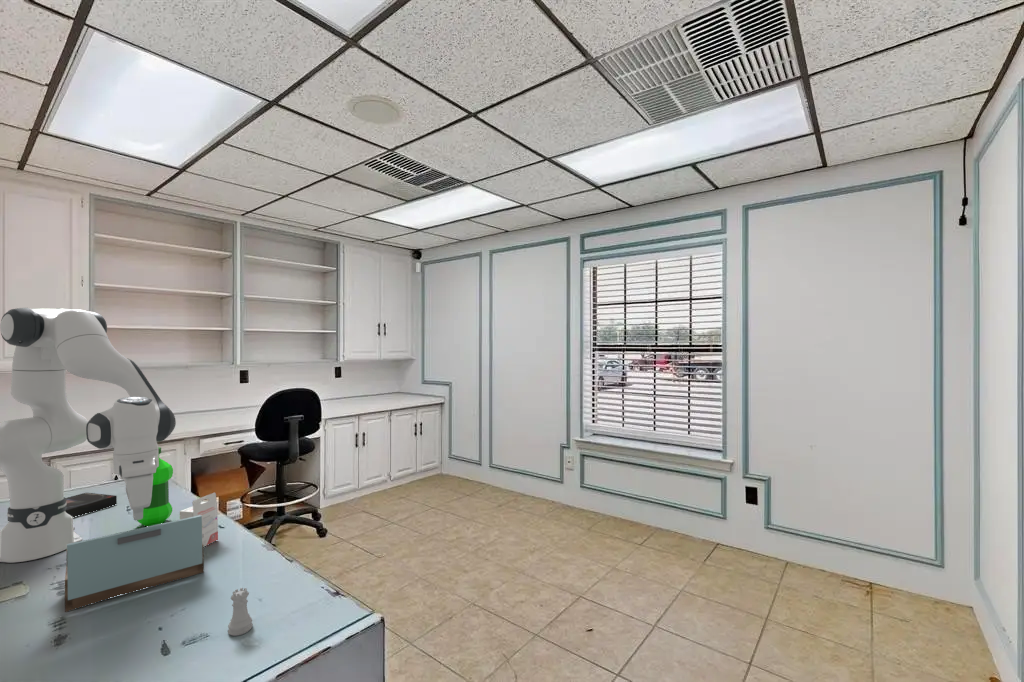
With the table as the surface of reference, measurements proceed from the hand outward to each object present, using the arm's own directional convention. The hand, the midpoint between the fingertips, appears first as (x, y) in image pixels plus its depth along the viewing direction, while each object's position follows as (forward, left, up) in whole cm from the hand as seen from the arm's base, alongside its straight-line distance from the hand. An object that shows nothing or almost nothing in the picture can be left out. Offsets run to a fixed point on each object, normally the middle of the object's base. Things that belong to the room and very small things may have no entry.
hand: (138, 518), depth 117 cm
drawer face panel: (+6, 0, -13) cm, 14 cm away
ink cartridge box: (-15, +15, -16) cm, 27 cm away
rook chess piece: (+40, +14, -16) cm, 45 cm away
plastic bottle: (-47, +7, -16) cm, 50 cm away
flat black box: (-84, -13, -17) cm, 87 cm away
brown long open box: (-1, 0, -16) cm, 16 cm away
